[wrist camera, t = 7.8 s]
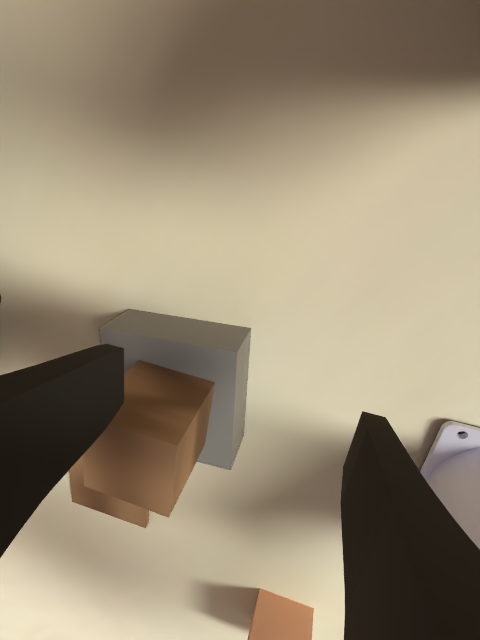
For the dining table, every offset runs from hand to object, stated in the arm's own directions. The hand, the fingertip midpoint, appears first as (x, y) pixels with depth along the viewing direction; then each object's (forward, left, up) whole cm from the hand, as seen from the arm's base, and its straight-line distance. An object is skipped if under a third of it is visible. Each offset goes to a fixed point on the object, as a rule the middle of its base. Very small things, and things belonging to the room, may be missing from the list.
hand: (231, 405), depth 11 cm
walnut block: (+5, +7, -7) cm, 11 cm away
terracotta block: (-5, +28, -10) cm, 30 cm away
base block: (+5, +7, -11) cm, 14 cm away
